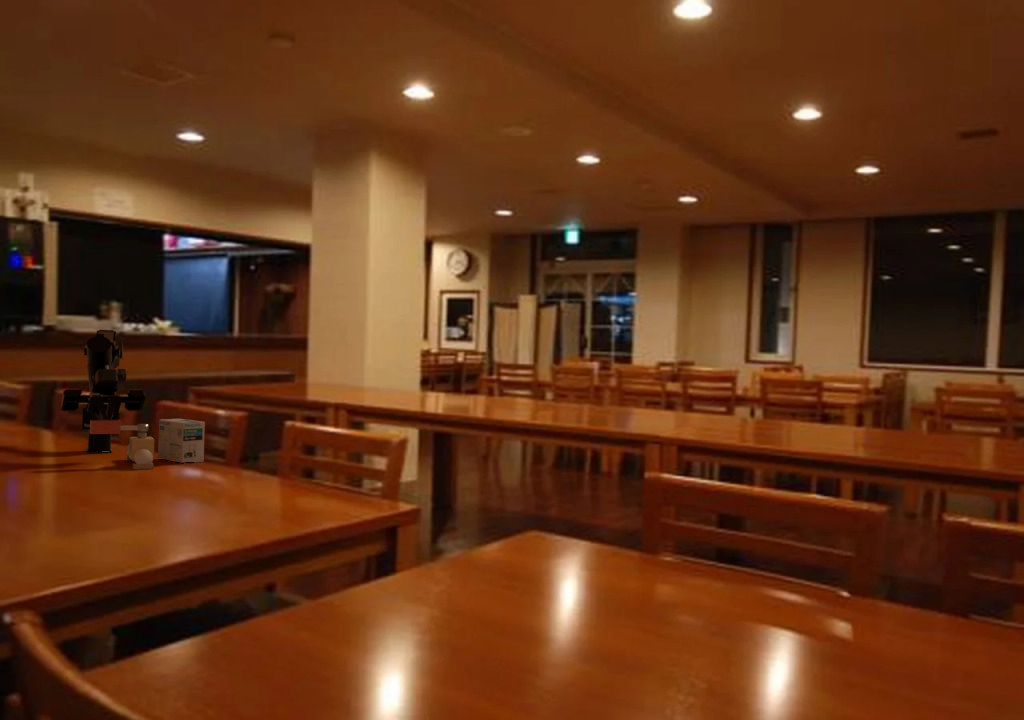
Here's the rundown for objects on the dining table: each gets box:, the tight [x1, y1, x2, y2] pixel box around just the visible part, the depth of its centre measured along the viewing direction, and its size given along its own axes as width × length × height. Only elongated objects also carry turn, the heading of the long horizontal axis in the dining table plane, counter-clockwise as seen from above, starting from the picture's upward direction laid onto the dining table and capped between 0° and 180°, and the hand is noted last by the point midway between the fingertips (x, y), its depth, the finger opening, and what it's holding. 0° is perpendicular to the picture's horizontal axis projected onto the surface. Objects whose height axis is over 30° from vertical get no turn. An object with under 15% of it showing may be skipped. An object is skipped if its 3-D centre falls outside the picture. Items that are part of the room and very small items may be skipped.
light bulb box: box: [157, 418, 206, 463], centre depth 214 cm, size 11×7×11 cm, turn 58°
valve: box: [125, 431, 155, 470], centre depth 205 cm, size 17×5×8 cm, turn 32°
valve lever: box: [89, 419, 150, 435], centre depth 200 cm, size 3×13×3 cm, turn 122°
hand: (107, 425), depth 202 cm, fingers closed
